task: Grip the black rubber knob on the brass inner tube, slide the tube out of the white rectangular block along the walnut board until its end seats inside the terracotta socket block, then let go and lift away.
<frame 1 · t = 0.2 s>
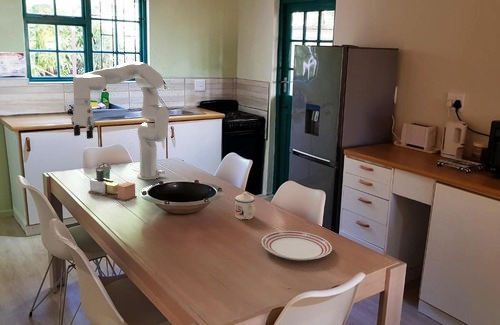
hand: (83, 136, 230), 30 cm above the table, tool pointing down, fingers open, 9 cm apart
white rectangular block: (101, 185, 241), on the base board, point 4 cm above the table
socket block: (126, 198, 235), resting on base board
food container: (105, 183, 260), on the table
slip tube: (105, 180, 239), point 7 cm above the table, slide at 0.0 cm
base board: (112, 195, 239), on the table
dinner plate: (295, 251, 184), on the table
teacup with lid: (245, 217, 217), on the table
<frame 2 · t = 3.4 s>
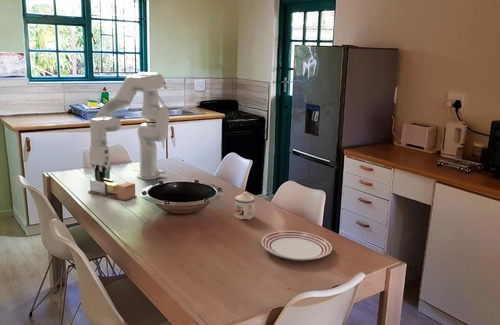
hand: (100, 177, 241), 8 cm above the table, tool pointing down, fingers closed on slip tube, 2 cm apart
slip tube: (105, 180, 239), point 7 cm above the table, slide at 0.0 cm, touching gripper
everything else where it was.
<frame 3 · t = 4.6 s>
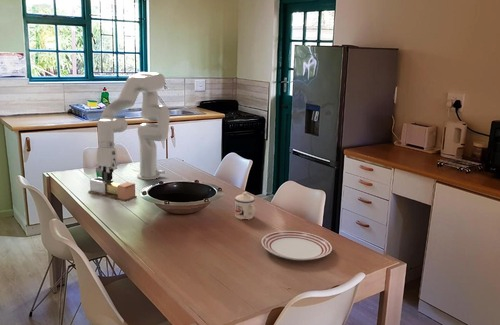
hand: (107, 179, 239), 8 cm above the table, tool pointing down, fingers closed on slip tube, 2 cm apart
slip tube: (113, 182, 237), point 7 cm above the table, slide at 4.9 cm, touching gripper
everything else where it was.
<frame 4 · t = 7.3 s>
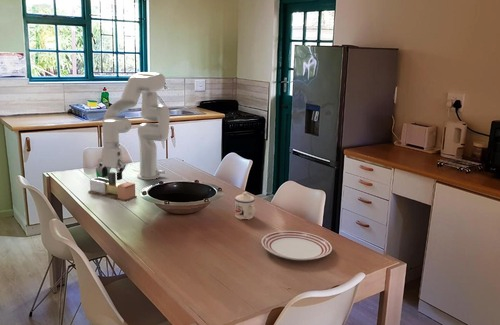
hand: (112, 178, 237), 9 cm above the table, tool pointing down, fingers open, 9 cm apart
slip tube: (118, 183, 236), point 7 cm above the table, slide at 8.1 cm
everything else where it was.
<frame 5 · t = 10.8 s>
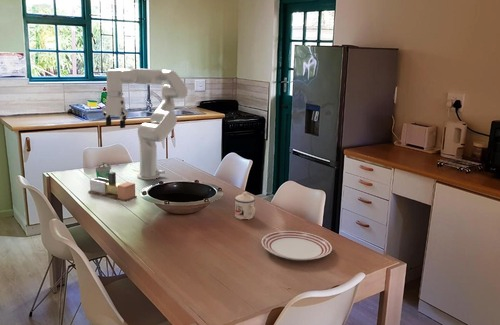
hand: (115, 126, 248), 32 cm above the table, tool pointing down, fingers open, 9 cm apart
nothing on the table moved.
at the end: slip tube slide at 8.1 cm; the gripper is holding nothing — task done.
